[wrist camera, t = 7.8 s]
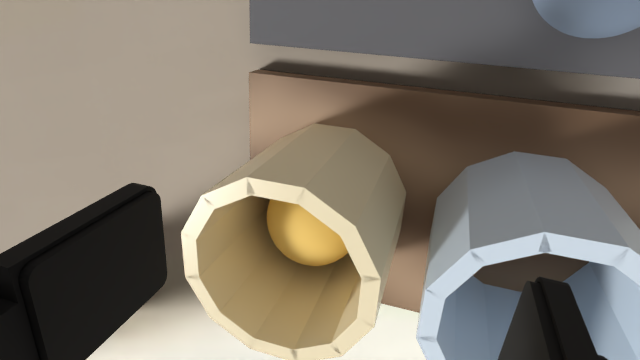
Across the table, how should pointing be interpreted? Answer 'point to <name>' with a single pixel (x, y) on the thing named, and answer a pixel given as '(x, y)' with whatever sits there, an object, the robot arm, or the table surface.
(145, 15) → the table surface
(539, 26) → the gray flat board
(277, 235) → the ball ochre
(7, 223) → the table surface
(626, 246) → the tube blue
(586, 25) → the ball blue
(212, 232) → the tube
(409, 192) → the tube board
